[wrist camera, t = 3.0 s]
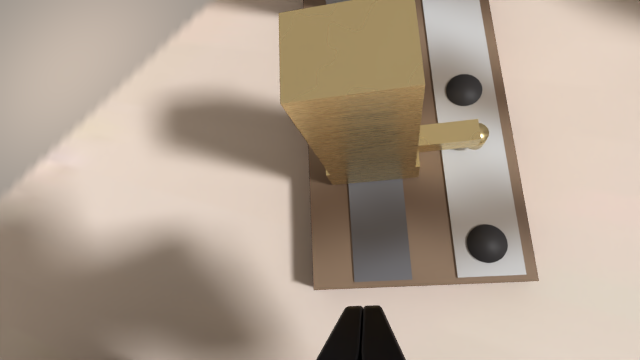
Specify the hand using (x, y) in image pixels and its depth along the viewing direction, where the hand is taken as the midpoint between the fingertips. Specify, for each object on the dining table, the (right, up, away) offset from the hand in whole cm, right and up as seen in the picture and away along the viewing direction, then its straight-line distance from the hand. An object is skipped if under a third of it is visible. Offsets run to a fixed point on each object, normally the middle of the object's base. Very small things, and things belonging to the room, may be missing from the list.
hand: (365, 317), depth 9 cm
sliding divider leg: (+3, +5, +11) cm, 12 cm away
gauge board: (+4, +7, +13) cm, 16 cm away
